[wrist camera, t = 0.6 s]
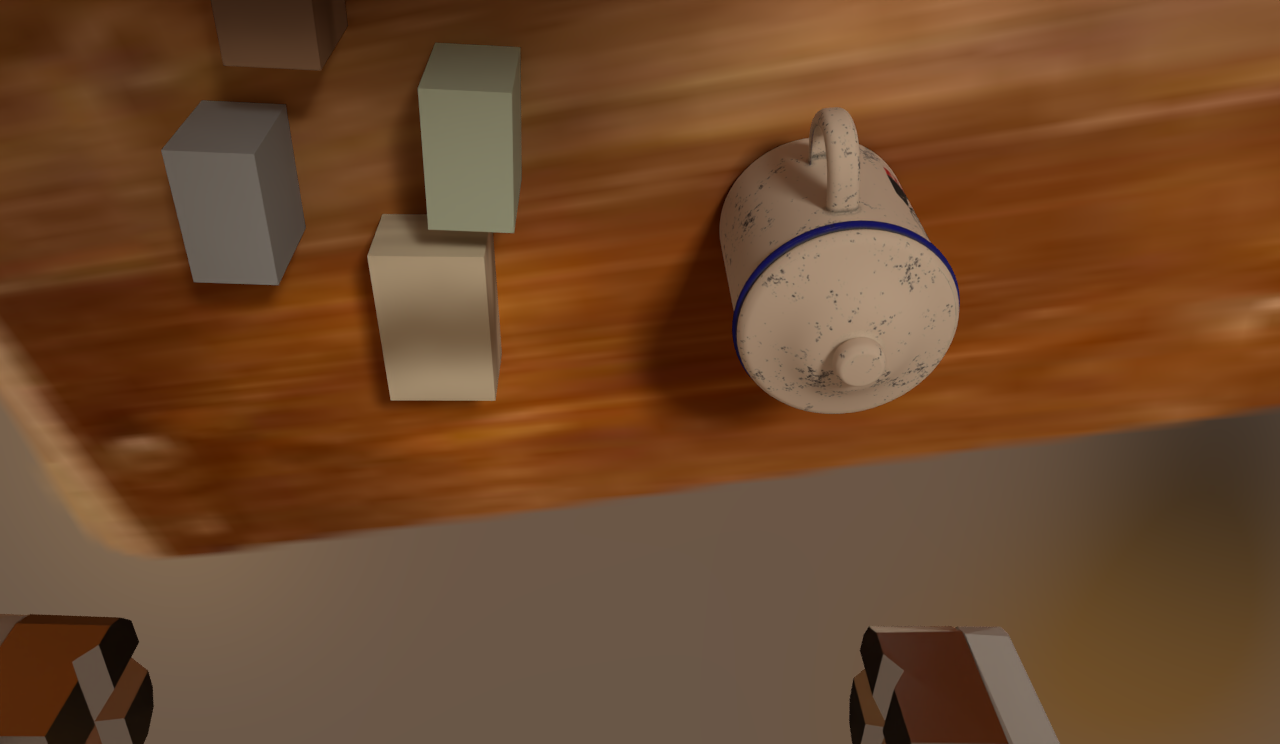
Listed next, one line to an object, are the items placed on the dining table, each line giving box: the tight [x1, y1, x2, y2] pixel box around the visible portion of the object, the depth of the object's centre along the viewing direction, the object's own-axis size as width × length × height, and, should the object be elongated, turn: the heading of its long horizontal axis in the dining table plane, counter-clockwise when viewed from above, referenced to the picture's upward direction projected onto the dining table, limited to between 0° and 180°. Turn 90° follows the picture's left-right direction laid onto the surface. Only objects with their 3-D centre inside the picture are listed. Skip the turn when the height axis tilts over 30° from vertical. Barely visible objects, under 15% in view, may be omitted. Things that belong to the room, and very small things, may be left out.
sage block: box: [418, 43, 522, 233], centre depth 41 cm, size 6×4×5 cm, turn 176°
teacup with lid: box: [719, 107, 960, 414], centre depth 41 cm, size 12×9×12 cm
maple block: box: [367, 214, 502, 401], centre depth 47 cm, size 8×5×4 cm, turn 178°
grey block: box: [161, 100, 306, 285], centre depth 42 cm, size 6×4×5 cm, turn 176°
